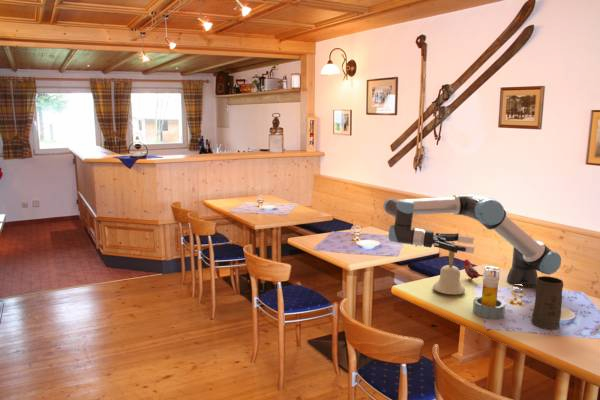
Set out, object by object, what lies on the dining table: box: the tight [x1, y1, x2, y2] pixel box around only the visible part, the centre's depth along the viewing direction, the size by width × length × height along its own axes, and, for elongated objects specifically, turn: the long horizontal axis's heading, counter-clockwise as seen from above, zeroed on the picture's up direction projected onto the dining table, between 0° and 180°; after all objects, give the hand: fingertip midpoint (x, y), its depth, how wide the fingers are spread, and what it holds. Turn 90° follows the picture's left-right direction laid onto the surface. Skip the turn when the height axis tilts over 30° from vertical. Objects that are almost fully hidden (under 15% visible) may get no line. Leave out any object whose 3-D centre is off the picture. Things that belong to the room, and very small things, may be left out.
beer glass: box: [482, 266, 500, 283], centre depth 232 cm, size 7×7×15 cm
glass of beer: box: [481, 276, 499, 307], centre depth 215 cm, size 6×6×15 cm
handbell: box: [432, 241, 466, 295], centre depth 239 cm, size 15×15×25 cm
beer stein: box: [530, 275, 564, 330], centre depth 207 cm, size 15×11×20 cm
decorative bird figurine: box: [463, 259, 483, 282], centre depth 256 cm, size 3×18×10 cm, turn 16°
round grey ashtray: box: [472, 296, 506, 320], centre depth 216 cm, size 12×12×5 cm
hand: (473, 245), depth 215 cm, fingers open, 13 cm apart
